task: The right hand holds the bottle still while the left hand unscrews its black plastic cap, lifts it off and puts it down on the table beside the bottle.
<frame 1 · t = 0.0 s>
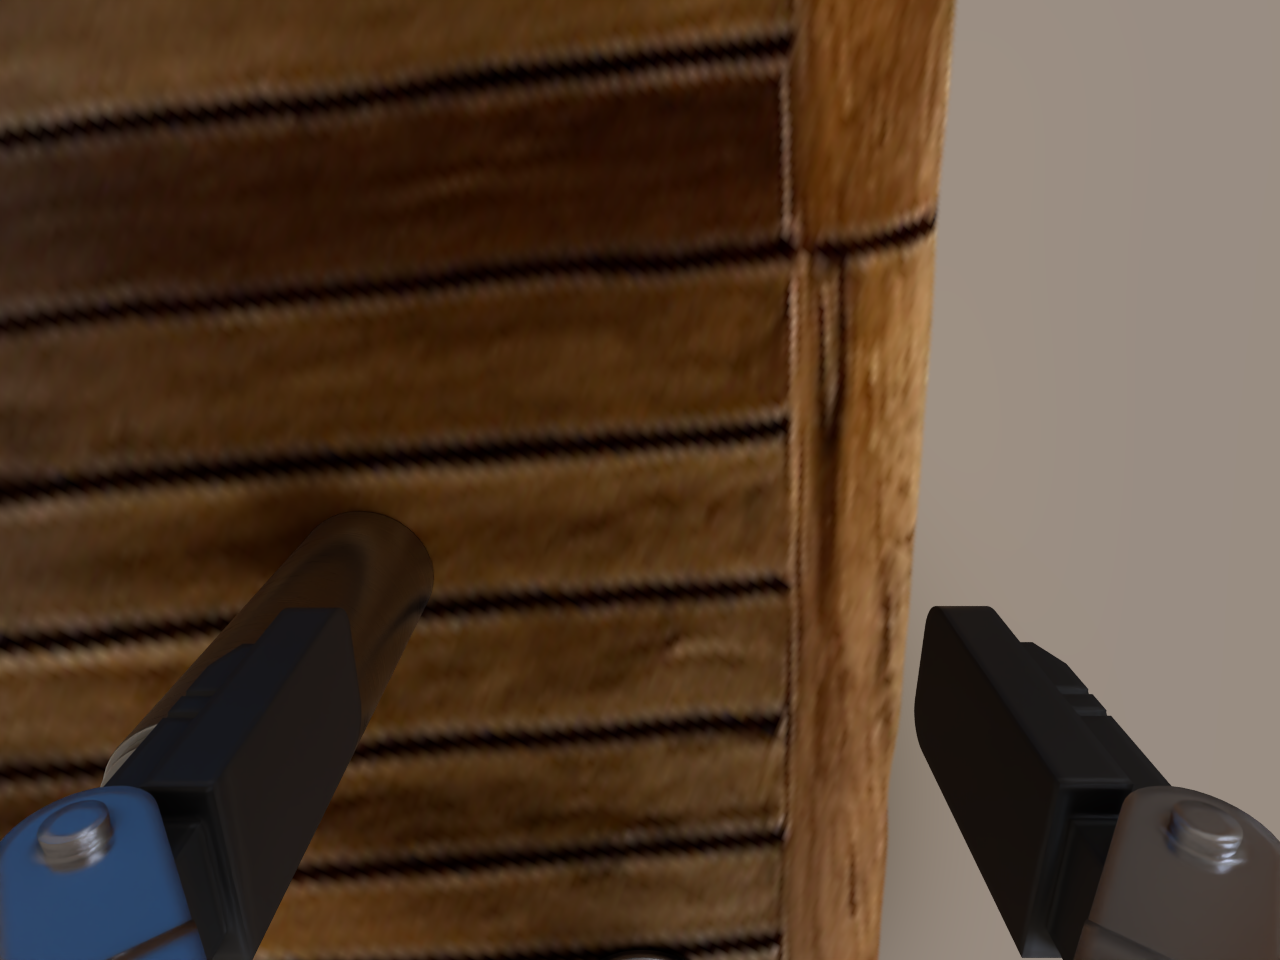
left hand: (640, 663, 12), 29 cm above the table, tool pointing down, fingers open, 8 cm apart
bottle: (367, 571, 44), on the table
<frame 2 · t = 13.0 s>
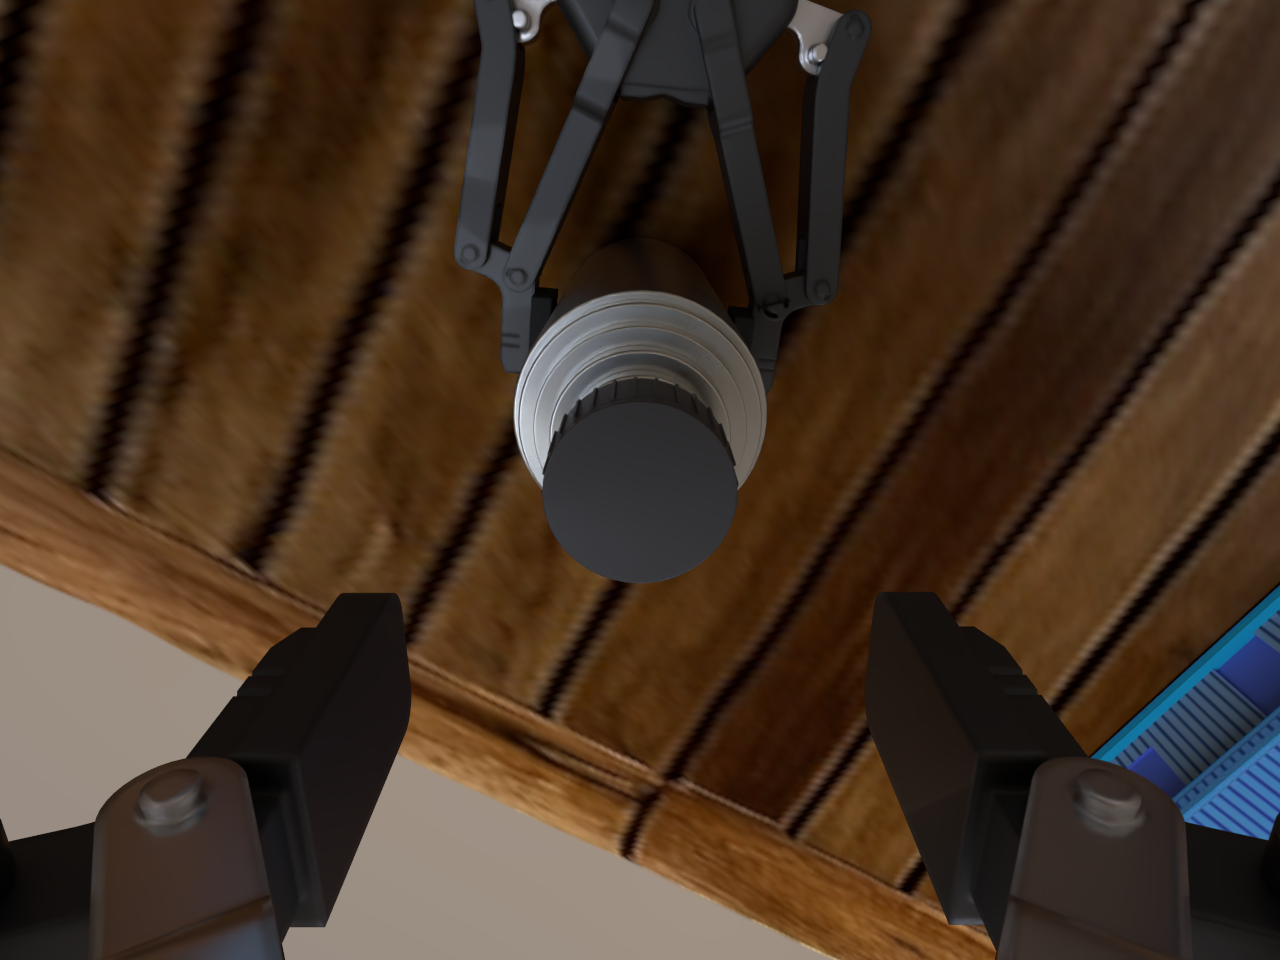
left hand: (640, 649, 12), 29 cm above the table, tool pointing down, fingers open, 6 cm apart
bottle: (640, 314, 39), on the table, touching right hand
cap: (639, 491, 18), point 23 cm above the table, screwed on, not yet turned
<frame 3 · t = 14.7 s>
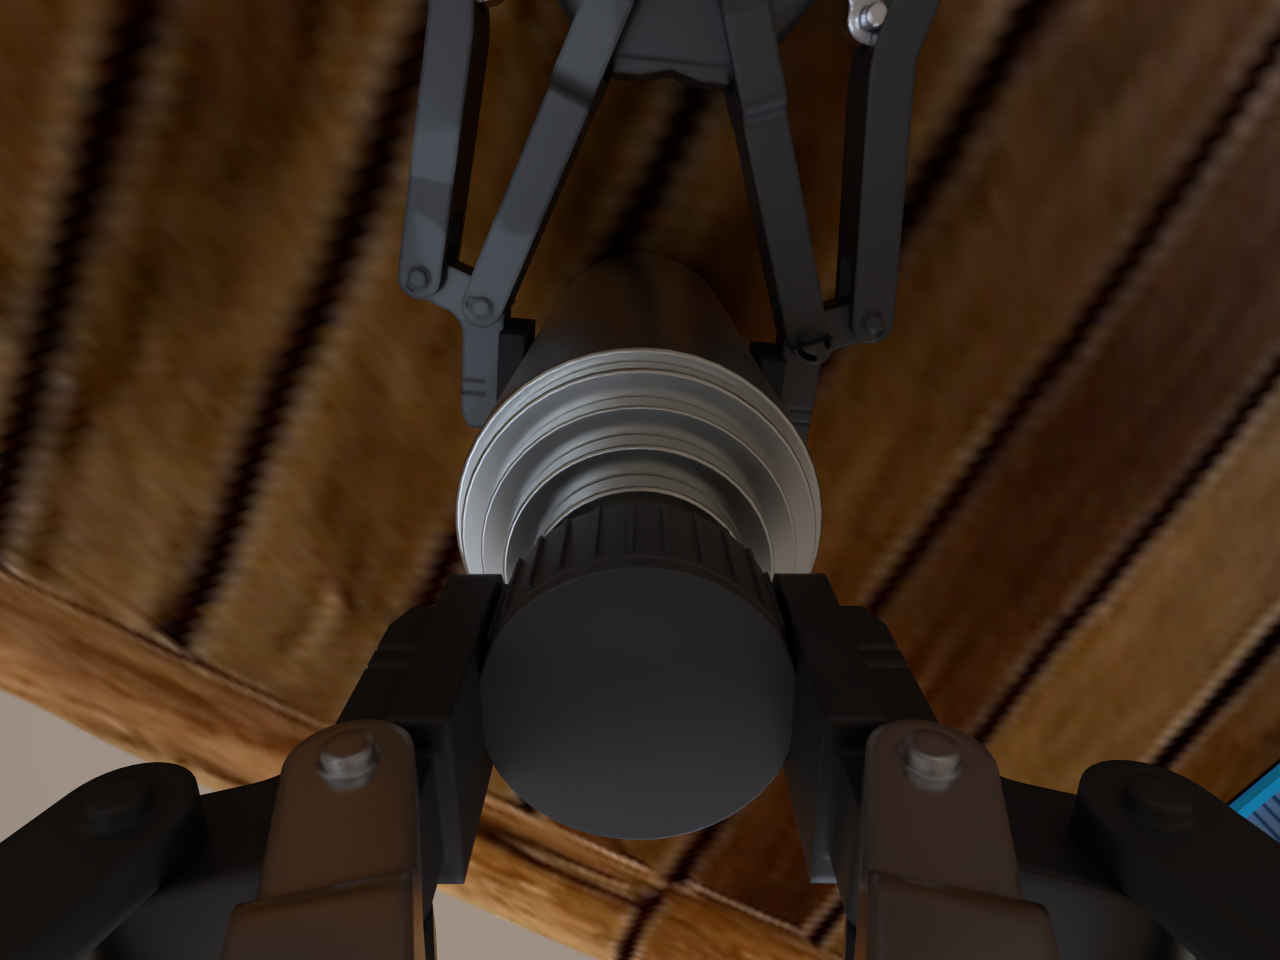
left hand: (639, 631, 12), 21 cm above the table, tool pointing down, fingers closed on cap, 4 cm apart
bottle: (638, 346, 32), on the table, touching right hand
cap: (638, 699, 11), point 23 cm above the table, screwed on, not yet turned, touching left hand
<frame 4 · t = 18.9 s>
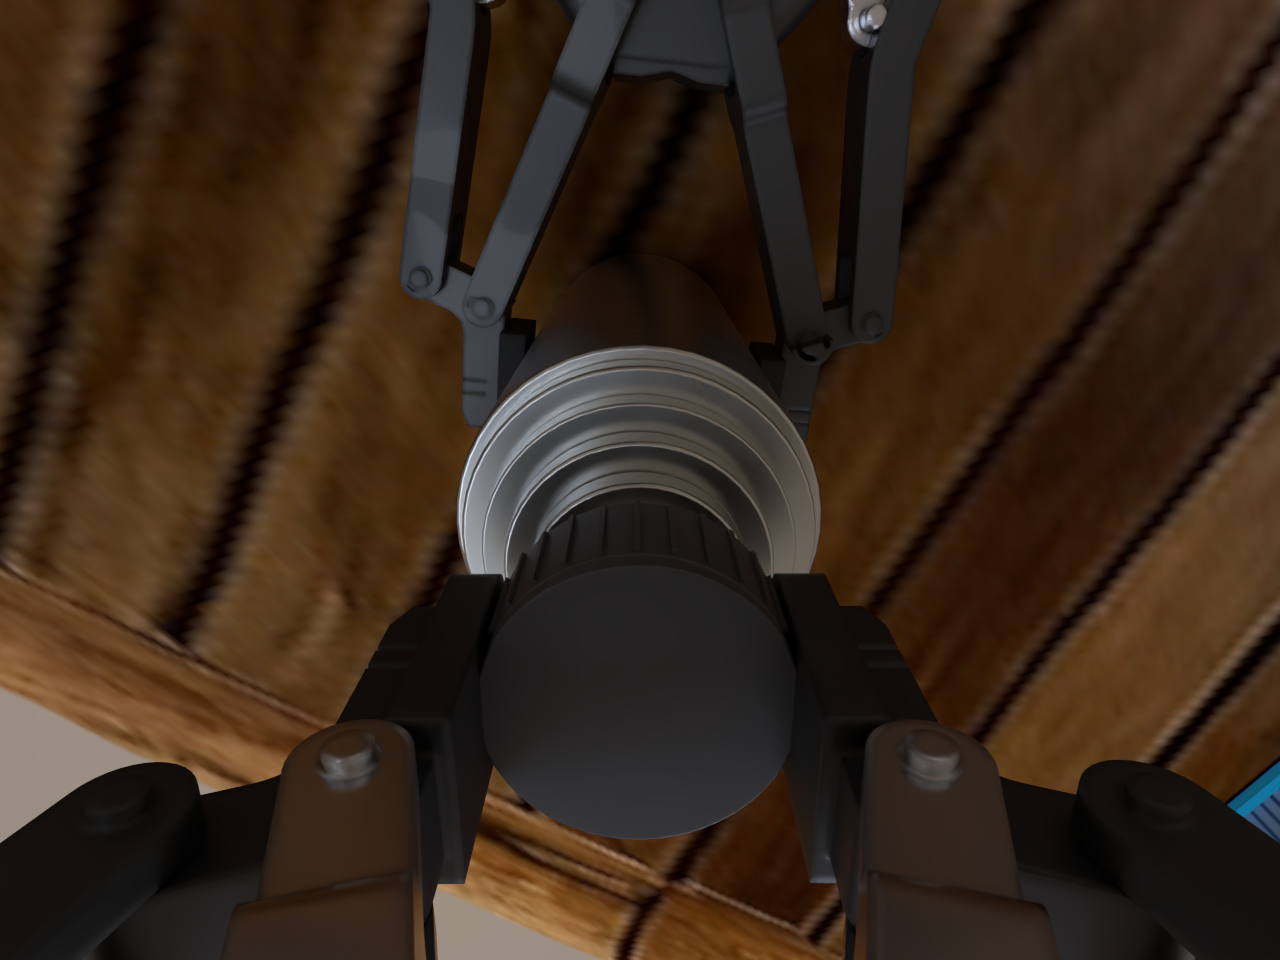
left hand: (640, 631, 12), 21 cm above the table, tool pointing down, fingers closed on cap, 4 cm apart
bottle: (638, 346, 32), on the table, touching right hand
cap: (638, 698, 11), point 23 cm above the table, turned 101° so far, risen 0.1 cm, still on its thread, touching left hand
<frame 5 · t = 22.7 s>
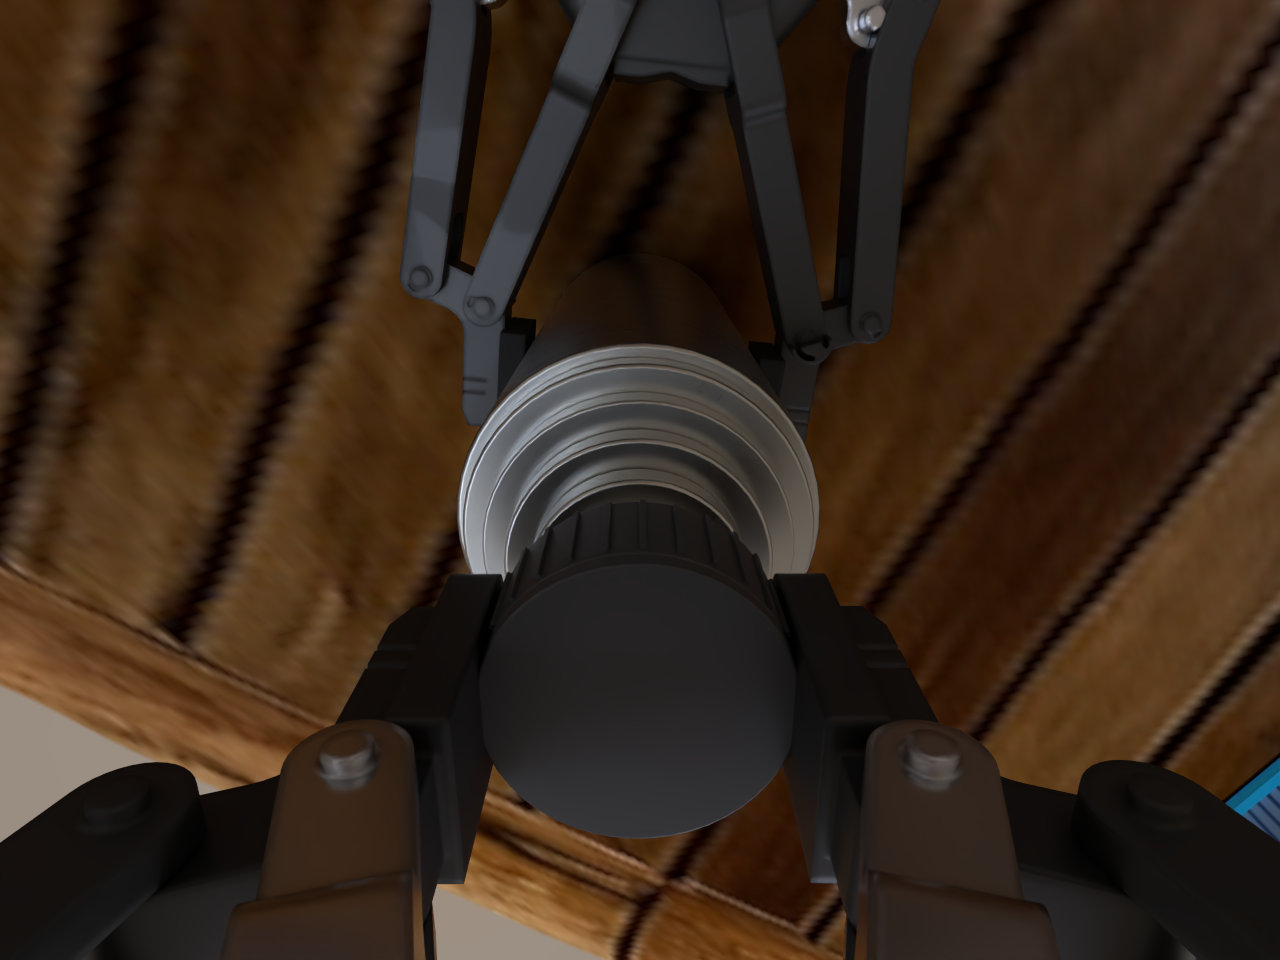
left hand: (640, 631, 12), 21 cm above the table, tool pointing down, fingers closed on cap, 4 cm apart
bottle: (638, 346, 32), on the table, touching right hand
cap: (638, 697, 11), point 23 cm above the table, turned 201° so far, risen 0.2 cm, still on its thread, touching left hand
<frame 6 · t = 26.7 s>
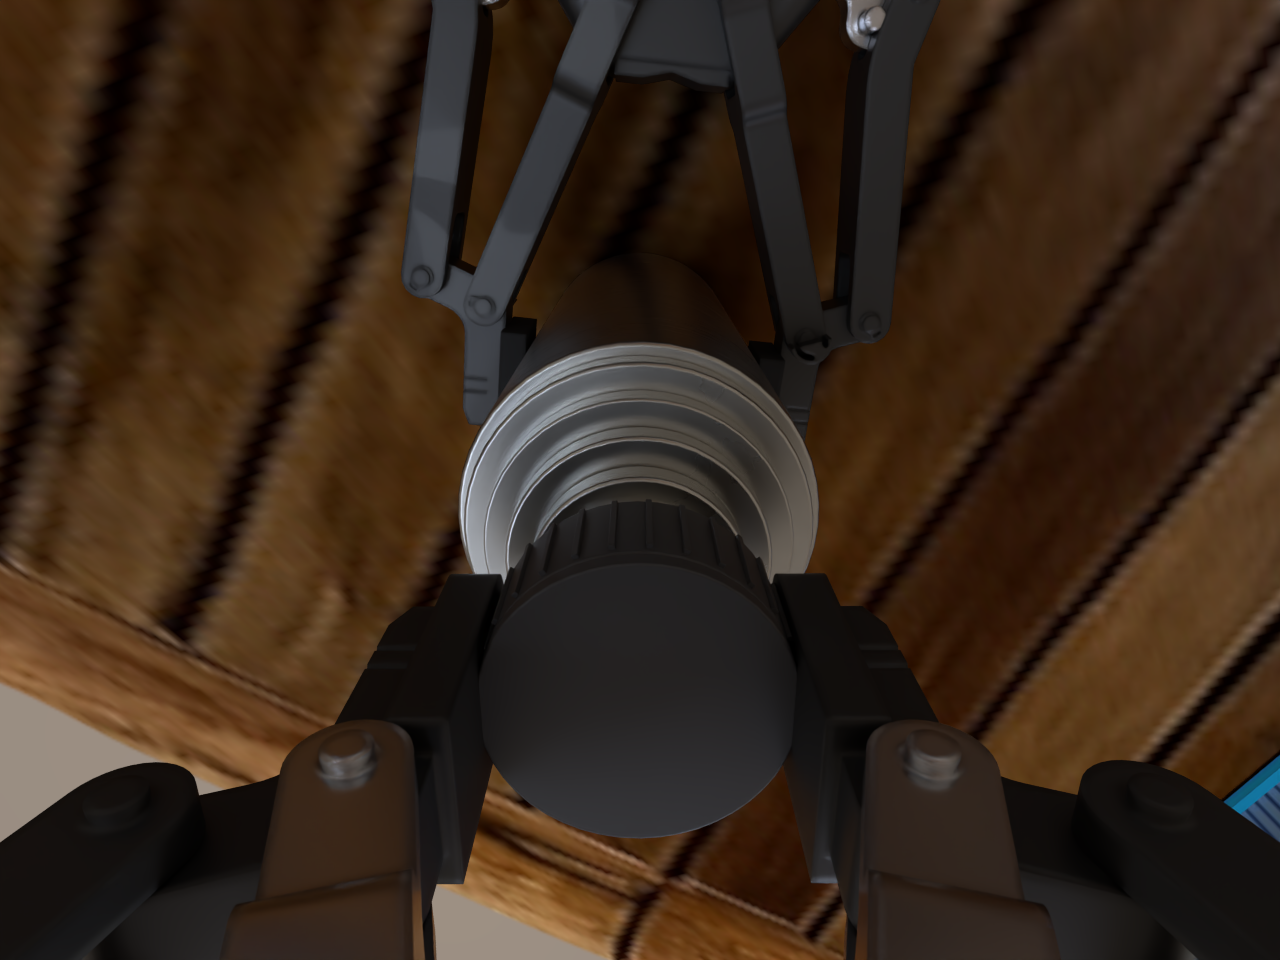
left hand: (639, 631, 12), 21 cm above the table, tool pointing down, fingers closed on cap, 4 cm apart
bottle: (638, 345, 32), on the table, touching right hand
cap: (638, 696, 11), point 23 cm above the table, turned 302° so far, risen 0.3 cm, still on its thread, touching left hand
when the left hand's fingers open (1 cm above the table, at t = 37.8 s): cap drops 1 cm, point 2 cm above the table.
when the right hand's fingers open (6 cm above the table, at t = 38.9 s): bottle stays where it is, on the table.
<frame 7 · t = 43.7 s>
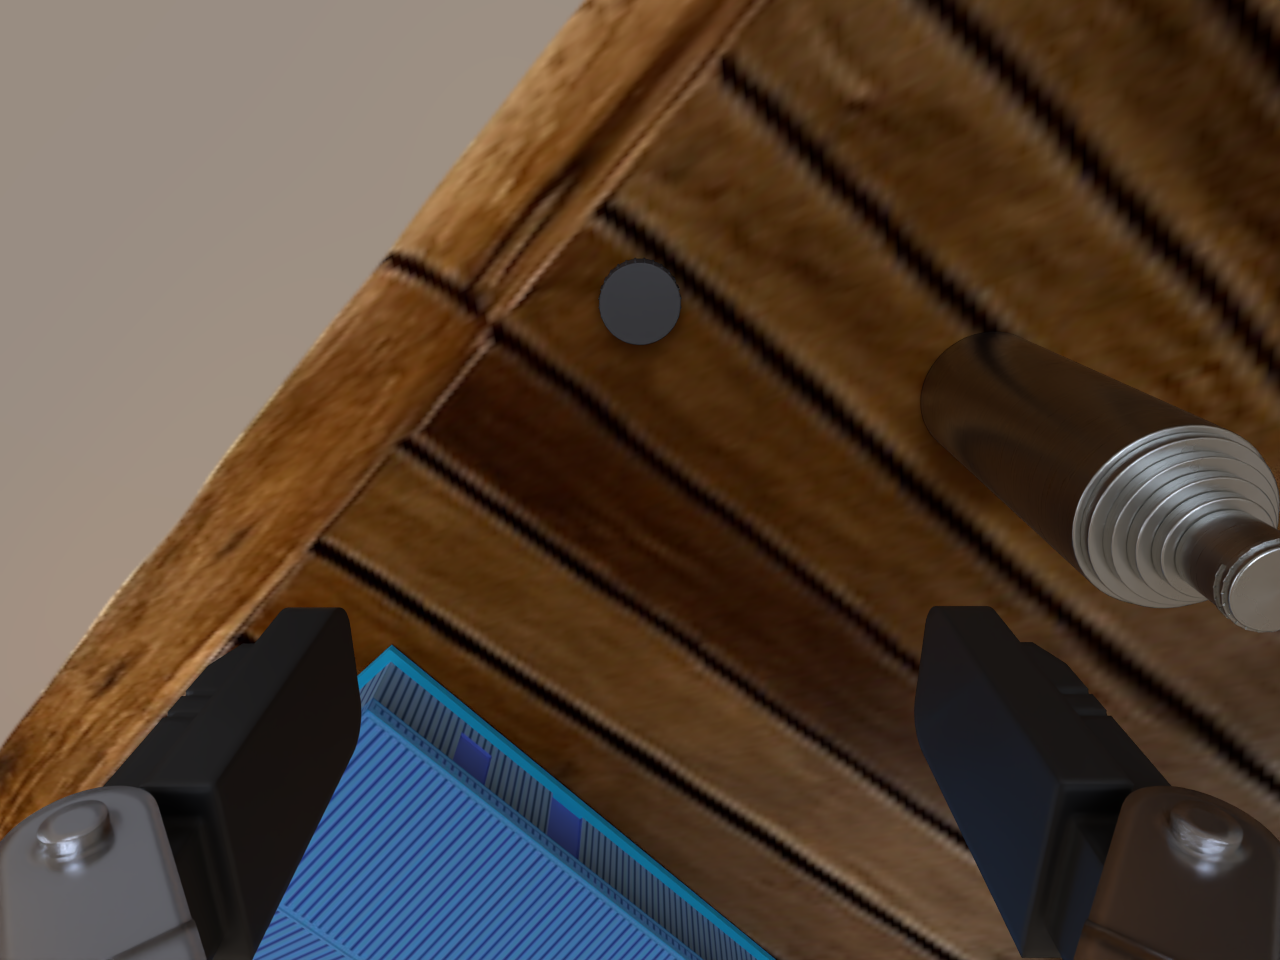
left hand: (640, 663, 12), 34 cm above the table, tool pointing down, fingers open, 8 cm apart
model building: (495, 914, 59), on the table
bottle: (984, 394, 45), on the table
cap: (640, 303, 42), point 2 cm above the table, off its thread
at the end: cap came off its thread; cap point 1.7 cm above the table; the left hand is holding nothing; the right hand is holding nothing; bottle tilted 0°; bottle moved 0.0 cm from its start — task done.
